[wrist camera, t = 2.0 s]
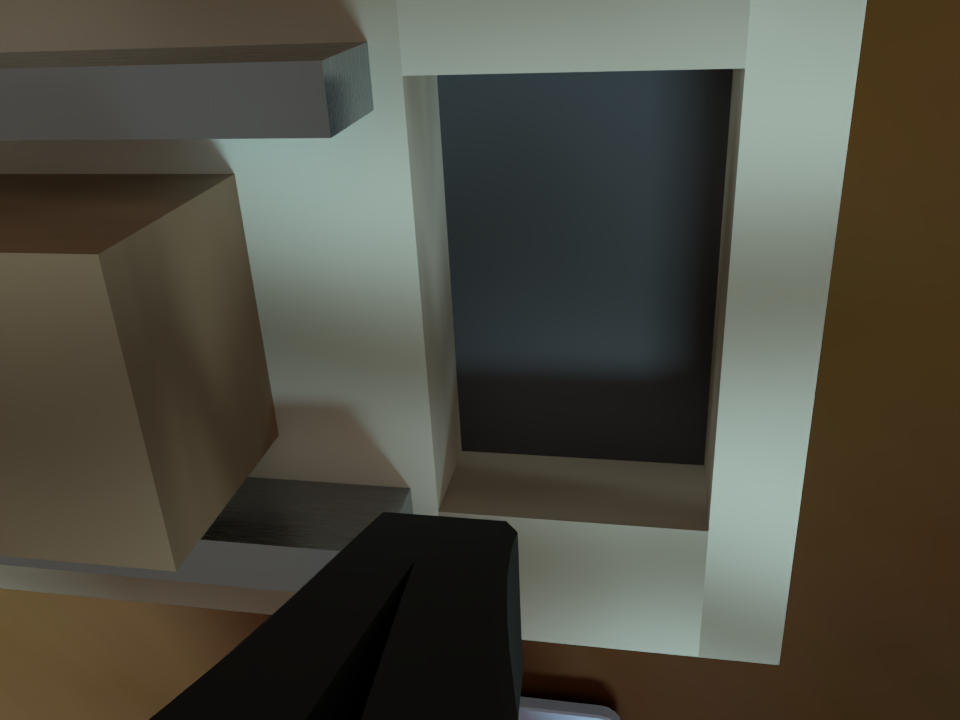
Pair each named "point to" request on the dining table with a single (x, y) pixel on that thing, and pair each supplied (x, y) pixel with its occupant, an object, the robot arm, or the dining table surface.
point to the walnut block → (125, 365)
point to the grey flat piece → (533, 284)
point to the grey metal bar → (214, 115)
